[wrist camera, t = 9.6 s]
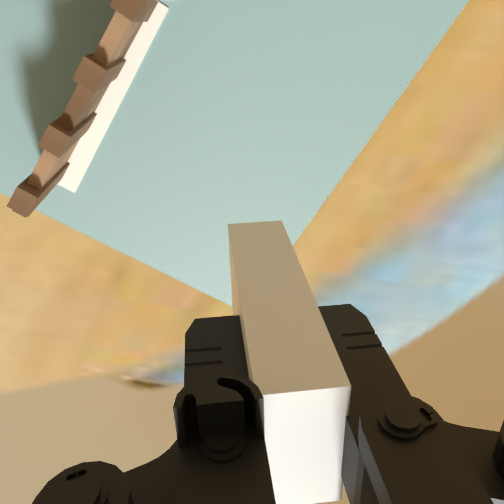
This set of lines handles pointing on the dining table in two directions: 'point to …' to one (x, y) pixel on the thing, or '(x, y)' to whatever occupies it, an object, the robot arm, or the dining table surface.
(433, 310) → the dining table surface
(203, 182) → the board
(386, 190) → the dining table surface
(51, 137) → the fence panel
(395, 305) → the dining table surface
